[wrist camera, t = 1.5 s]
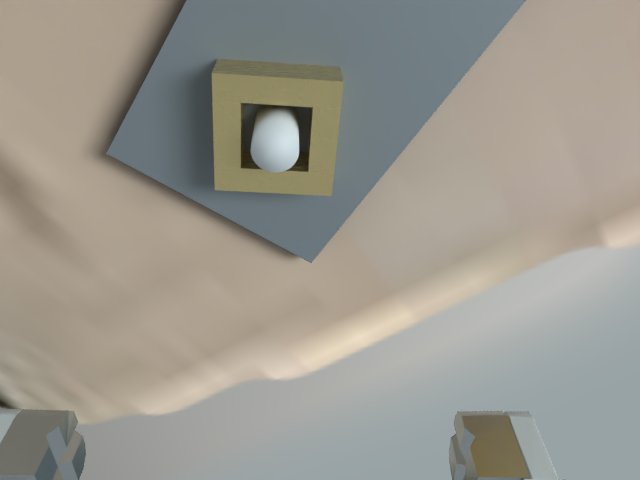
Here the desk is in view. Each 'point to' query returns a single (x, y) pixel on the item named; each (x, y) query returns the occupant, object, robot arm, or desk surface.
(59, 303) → the desk surface
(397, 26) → the jig board
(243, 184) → the brass collar
